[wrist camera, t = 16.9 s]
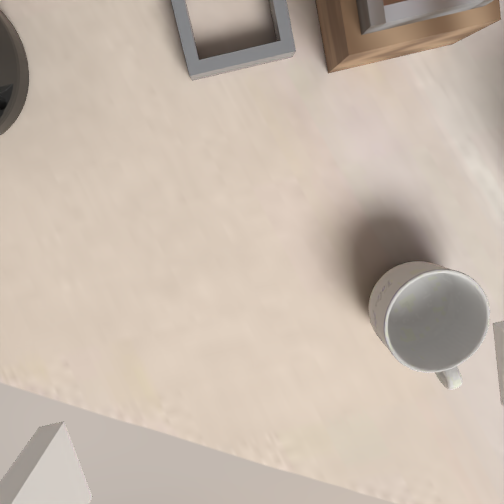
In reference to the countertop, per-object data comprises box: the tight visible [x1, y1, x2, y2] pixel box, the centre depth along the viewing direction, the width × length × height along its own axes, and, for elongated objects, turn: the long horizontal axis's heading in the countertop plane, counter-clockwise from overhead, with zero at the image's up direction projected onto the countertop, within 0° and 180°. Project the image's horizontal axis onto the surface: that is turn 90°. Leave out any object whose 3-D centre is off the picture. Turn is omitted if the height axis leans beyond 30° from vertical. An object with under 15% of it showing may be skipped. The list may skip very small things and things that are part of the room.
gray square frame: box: [171, 0, 296, 80], centre depth 41 cm, size 10×10×2 cm
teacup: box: [369, 261, 490, 389], centre depth 46 cm, size 14×11×8 cm
